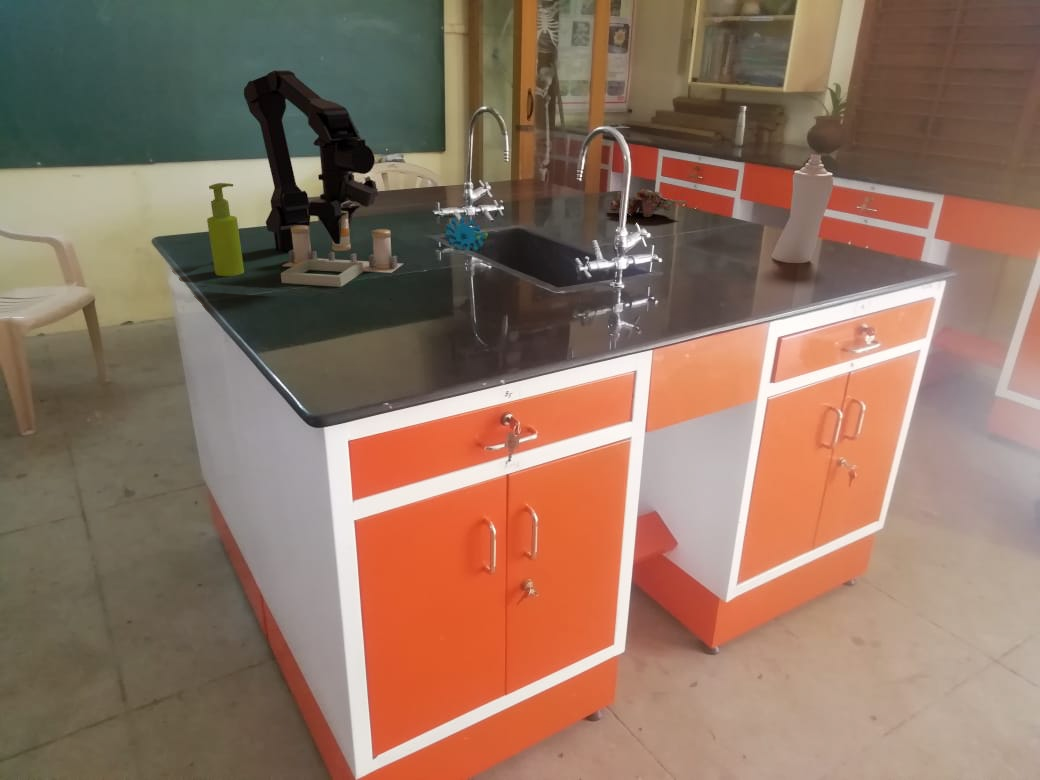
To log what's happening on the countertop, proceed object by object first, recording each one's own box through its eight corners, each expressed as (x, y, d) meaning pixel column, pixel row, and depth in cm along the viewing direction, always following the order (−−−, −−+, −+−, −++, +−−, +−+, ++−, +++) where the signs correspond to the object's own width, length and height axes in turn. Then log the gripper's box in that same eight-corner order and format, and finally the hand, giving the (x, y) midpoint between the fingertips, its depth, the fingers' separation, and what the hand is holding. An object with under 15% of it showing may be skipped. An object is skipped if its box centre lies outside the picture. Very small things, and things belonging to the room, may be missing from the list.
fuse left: (291, 264, 172) (287, 228, 169) (299, 259, 176) (295, 224, 173) (307, 265, 172) (304, 229, 168) (315, 260, 175) (312, 225, 172)
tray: (282, 289, 159) (280, 273, 157) (307, 274, 170) (306, 259, 168) (341, 293, 157) (340, 276, 155) (363, 278, 167) (362, 262, 166)
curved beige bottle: (822, 258, 188) (840, 152, 178) (818, 268, 179) (837, 157, 169) (773, 253, 193) (788, 149, 183) (767, 262, 184) (782, 154, 174)
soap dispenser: (253, 275, 168) (241, 182, 160) (233, 283, 162) (219, 187, 154) (231, 273, 170) (218, 180, 162) (210, 281, 164) (195, 185, 156)
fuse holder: (282, 272, 171) (280, 254, 170) (298, 263, 178) (296, 246, 177) (391, 279, 167) (390, 261, 165) (403, 270, 174) (402, 252, 172)
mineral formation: (690, 217, 228) (692, 184, 228) (652, 206, 219) (654, 172, 219) (636, 229, 246) (638, 199, 247) (599, 220, 237) (600, 188, 237)
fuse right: (371, 268, 169) (369, 232, 166) (378, 264, 173) (375, 228, 169) (388, 269, 168) (386, 233, 165) (395, 265, 172) (393, 229, 169)
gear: (448, 248, 187) (444, 214, 190) (442, 261, 192) (438, 227, 195) (491, 251, 191) (486, 217, 194) (484, 264, 196) (479, 231, 199)
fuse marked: (329, 250, 169) (326, 213, 166) (336, 246, 173) (333, 210, 169) (346, 251, 168) (343, 214, 165) (353, 247, 172) (350, 211, 169)
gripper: (354, 176, 154) (359, 253, 160) (386, 164, 171) (390, 234, 177) (302, 174, 156) (309, 250, 162) (339, 163, 173) (344, 232, 179)
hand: (341, 241), depth 170 cm, fingers closed on fuse marked, 4 cm apart
